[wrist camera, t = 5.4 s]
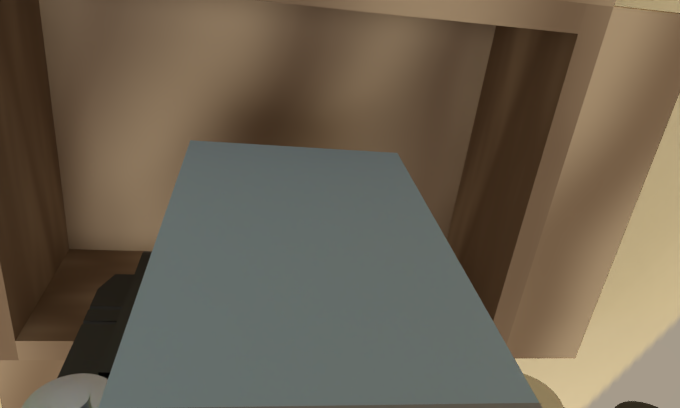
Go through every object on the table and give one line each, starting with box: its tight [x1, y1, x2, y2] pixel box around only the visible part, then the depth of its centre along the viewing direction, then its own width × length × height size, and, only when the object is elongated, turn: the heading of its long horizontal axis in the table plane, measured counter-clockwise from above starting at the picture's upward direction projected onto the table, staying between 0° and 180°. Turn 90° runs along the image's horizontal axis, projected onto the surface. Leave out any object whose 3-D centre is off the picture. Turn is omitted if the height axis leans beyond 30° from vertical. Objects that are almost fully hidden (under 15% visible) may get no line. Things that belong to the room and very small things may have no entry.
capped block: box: [98, 140, 542, 408], centre depth 10 cm, size 5×5×10 cm
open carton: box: [0, 0, 680, 408], centre depth 19 cm, size 24×19×6 cm
